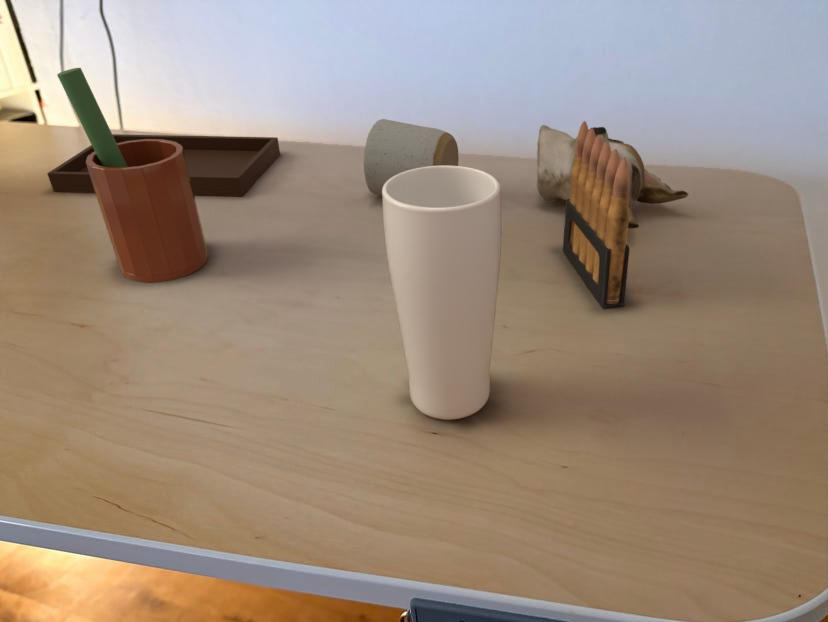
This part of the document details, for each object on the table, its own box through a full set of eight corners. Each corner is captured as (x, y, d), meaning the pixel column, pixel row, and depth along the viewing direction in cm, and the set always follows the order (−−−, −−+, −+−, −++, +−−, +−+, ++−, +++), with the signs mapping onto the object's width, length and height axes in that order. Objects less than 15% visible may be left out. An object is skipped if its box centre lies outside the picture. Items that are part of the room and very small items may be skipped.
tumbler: (105, 280, 64) (67, 168, 59) (144, 243, 70) (114, 138, 65) (188, 283, 64) (158, 170, 58) (220, 245, 70) (196, 139, 64)
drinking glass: (405, 369, 53) (388, 164, 45) (501, 370, 53) (502, 164, 44) (393, 430, 48) (371, 209, 39) (500, 432, 47) (501, 210, 39)
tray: (242, 196, 80) (238, 177, 78) (53, 191, 81) (46, 173, 80) (280, 154, 90) (277, 137, 89) (113, 150, 92) (107, 134, 91)
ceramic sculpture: (573, 97, 78) (703, 134, 70) (565, 175, 83) (685, 219, 75) (508, 122, 71) (644, 167, 64) (504, 206, 76) (629, 256, 69)
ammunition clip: (562, 250, 68) (570, 118, 61) (581, 248, 69) (591, 117, 62) (602, 309, 60) (617, 162, 53) (624, 306, 60) (641, 160, 53)
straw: (171, 251, 67) (118, 65, 58) (163, 260, 66) (107, 71, 57) (124, 250, 68) (63, 66, 59) (114, 260, 66) (50, 72, 57)
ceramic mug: (440, 214, 75) (437, 137, 71) (365, 205, 77) (358, 130, 73) (471, 178, 84) (470, 108, 79) (402, 171, 86) (398, 102, 81)
